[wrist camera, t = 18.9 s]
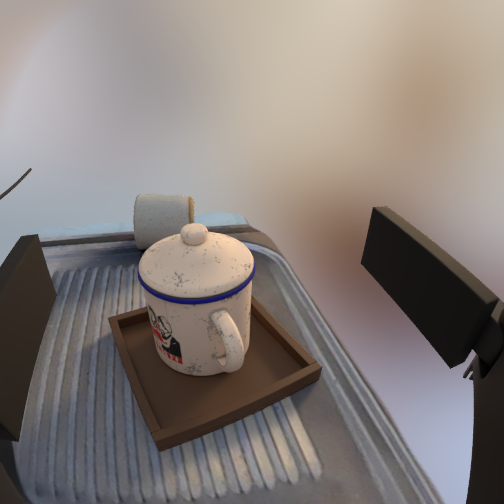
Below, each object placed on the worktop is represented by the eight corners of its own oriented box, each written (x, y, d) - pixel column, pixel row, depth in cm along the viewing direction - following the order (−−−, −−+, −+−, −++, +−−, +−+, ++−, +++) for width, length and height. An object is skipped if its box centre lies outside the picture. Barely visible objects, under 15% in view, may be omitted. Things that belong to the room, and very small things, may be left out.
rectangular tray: (112, 330, 30) (107, 317, 29) (236, 292, 37) (236, 279, 36) (159, 451, 20) (154, 441, 19) (319, 379, 26) (322, 366, 25)
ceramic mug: (196, 255, 43) (194, 201, 40) (137, 259, 42) (129, 206, 38) (194, 223, 52) (192, 178, 49) (144, 226, 51) (140, 181, 47)
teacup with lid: (144, 324, 31) (123, 216, 25) (226, 301, 34) (226, 197, 29) (183, 421, 22) (157, 305, 16) (287, 382, 25) (307, 264, 19)
